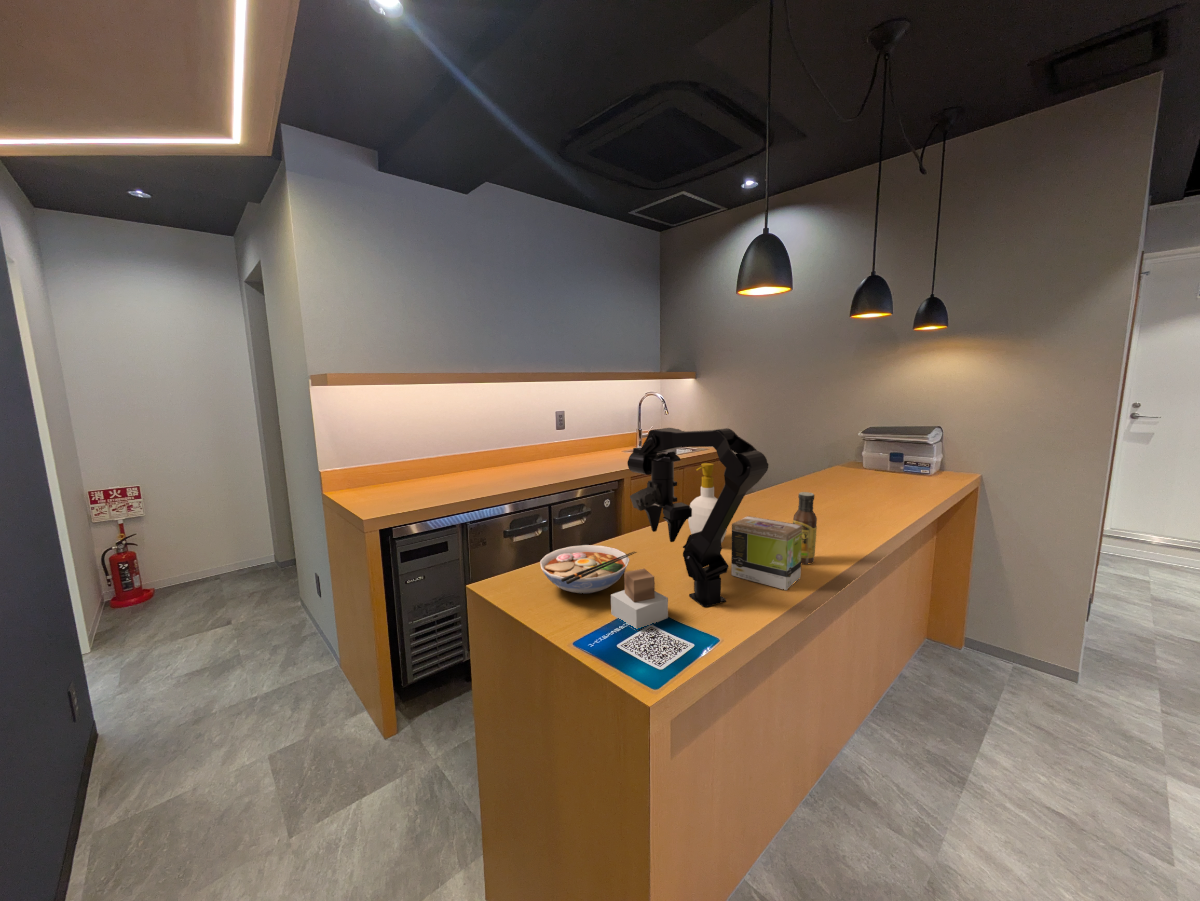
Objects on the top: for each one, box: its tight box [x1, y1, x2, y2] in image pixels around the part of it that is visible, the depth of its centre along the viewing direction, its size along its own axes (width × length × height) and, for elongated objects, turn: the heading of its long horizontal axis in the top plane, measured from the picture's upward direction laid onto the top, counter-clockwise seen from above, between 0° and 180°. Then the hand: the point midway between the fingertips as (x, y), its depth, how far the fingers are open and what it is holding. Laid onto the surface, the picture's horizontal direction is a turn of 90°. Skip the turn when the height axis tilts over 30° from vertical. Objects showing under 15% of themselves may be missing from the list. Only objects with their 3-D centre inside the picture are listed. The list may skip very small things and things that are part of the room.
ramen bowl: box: [539, 544, 637, 595], centre depth 120 cm, size 25×23×8 cm
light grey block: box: [610, 589, 669, 629], centre depth 105 cm, size 9×9×5 cm
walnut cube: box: [623, 568, 656, 602], centre depth 104 cm, size 5×5×5 cm
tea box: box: [730, 515, 802, 591], centre depth 122 cm, size 15×10×15 cm, turn 47°
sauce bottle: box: [792, 491, 818, 565], centre depth 132 cm, size 6×6×20 cm
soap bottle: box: [687, 462, 728, 544], centre depth 148 cm, size 14×9×26 cm, turn 36°
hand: (663, 536), depth 122 cm, fingers open, 9 cm apart
